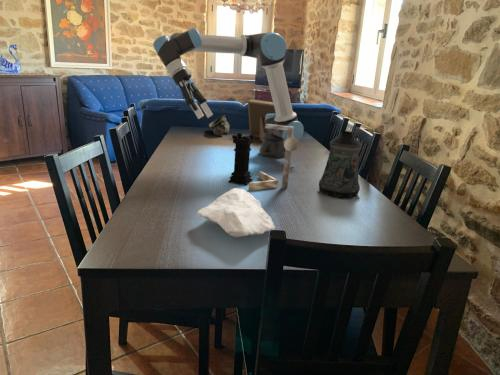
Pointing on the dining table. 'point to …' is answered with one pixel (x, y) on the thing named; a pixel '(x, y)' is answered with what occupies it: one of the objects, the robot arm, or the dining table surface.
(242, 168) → the chess piece
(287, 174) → the centring cradle
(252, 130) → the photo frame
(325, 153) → the dining table surface
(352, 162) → the beer stein
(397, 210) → the dining table surface
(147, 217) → the dining table surface
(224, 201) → the white rock
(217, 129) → the hollow geode rock
